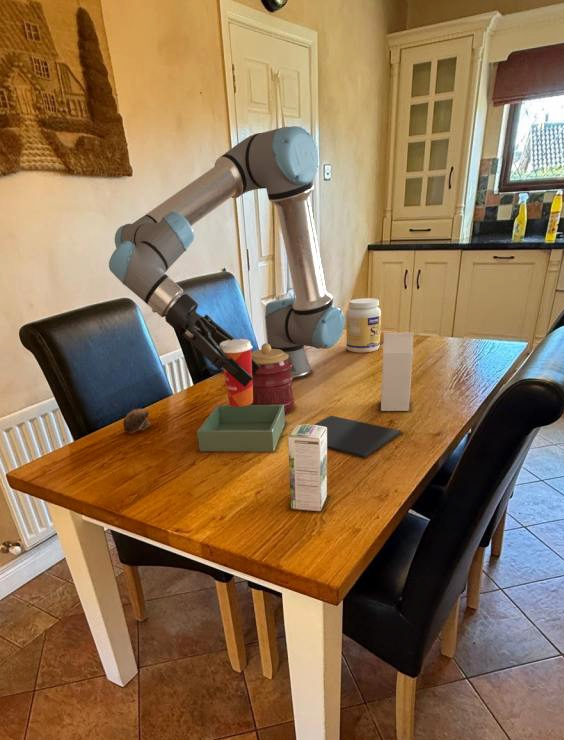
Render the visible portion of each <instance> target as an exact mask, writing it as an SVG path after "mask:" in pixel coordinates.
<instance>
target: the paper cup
mask: <svg viewBox="0 0 564 740" xmlns="http://www.w3.org/2000/svg"><path fill="white" fill-rule="evenodd" d="M219 347H220V348H221V349H222V351H223V352H224V353H225V354H226V355H227V357H228V358H229V359H230V358H232V359H233V360H234V361H235V362H237V363H238V364H239V365H240V366H241V367H242V368H243V369H244V370H245V371H247V372H248V373H249V374H250V375H251V376H252V357H251V353H252V349H253V345H252V344H251V340H249V339H246V338H239V339H237V338H235V339H233V340H227V341H223V342H221V343H220V346H219ZM222 369H223V371H224V372H223V375H224V382H225V387H226V391H227V397H228V402H229V405H231V406H235V407H243V406H247V405H250V404H252V403H253V382H252V380H251V381H250V382H249V383H248V384H247V386H246V387H244V386H243V385H242V384H241V383H240V382H239V381H238V380H236V379H235V378H234V377H233V376H232V375H231V374H230V373H229V372H227V371H226V370H225V369H224V368H223V367H222Z"/></svg>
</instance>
